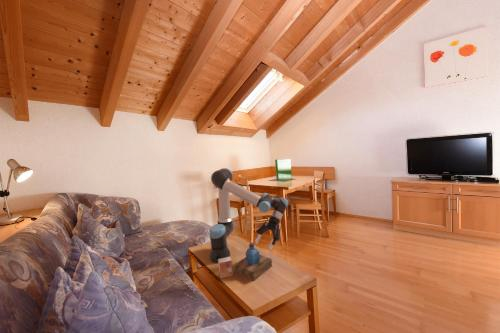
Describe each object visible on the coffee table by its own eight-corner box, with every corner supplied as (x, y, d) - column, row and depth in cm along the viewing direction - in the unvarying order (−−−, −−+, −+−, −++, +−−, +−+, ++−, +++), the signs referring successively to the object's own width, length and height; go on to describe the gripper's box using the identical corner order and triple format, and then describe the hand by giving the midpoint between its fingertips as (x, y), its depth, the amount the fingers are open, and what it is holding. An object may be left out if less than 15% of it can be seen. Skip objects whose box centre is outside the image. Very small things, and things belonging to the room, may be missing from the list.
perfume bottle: (252, 265, 140) (250, 247, 139) (246, 261, 145) (244, 244, 144) (259, 261, 144) (258, 243, 143) (253, 257, 149) (252, 241, 147)
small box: (220, 279, 138) (218, 263, 137) (219, 274, 143) (217, 258, 142) (233, 275, 140) (231, 260, 139) (231, 271, 145) (229, 256, 144)
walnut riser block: (235, 272, 144) (235, 264, 143) (254, 260, 157) (253, 252, 156) (254, 281, 133) (253, 272, 132) (272, 267, 146) (271, 258, 146)
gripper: (292, 224, 150) (279, 254, 142) (266, 217, 169) (253, 243, 161) (286, 219, 146) (272, 249, 138) (260, 212, 165) (247, 238, 157)
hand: (262, 246), depth 149 cm, fingers open, 13 cm apart
